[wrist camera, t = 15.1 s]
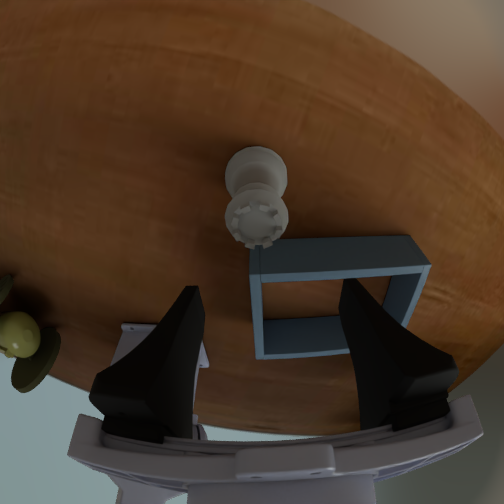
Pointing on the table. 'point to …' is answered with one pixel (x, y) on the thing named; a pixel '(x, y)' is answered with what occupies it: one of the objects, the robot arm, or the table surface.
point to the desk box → (324, 268)
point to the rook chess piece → (256, 196)
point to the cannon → (26, 344)
